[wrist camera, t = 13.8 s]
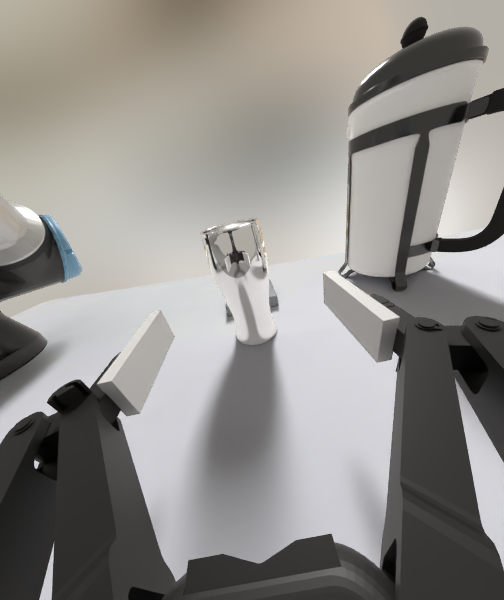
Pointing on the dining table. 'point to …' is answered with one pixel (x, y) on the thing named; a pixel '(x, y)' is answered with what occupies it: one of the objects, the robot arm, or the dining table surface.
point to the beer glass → (242, 277)
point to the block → (272, 298)
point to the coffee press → (412, 152)
